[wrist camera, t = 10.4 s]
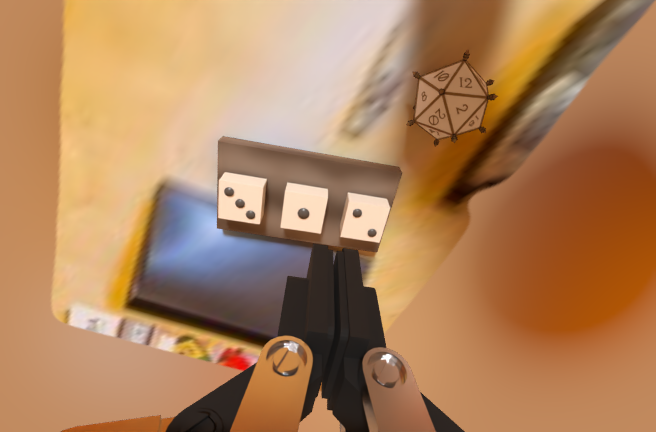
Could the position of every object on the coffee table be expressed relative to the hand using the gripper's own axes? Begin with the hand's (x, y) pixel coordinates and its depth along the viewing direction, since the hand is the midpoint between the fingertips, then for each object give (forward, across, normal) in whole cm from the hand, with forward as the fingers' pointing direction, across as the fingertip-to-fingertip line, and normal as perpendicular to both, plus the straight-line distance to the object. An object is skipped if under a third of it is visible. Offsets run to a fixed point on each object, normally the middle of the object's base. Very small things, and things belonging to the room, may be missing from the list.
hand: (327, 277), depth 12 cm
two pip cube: (+27, -6, +11) cm, 30 cm away
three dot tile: (+27, +8, +11) cm, 30 cm away
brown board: (+29, +1, +11) cm, 31 cm away
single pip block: (+27, +1, +11) cm, 29 cm away
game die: (+29, -12, -4) cm, 32 cm away
